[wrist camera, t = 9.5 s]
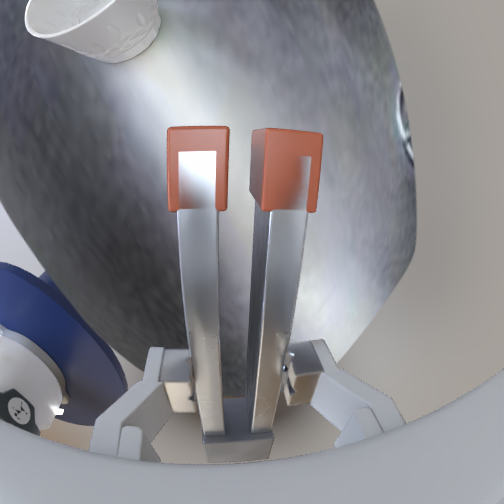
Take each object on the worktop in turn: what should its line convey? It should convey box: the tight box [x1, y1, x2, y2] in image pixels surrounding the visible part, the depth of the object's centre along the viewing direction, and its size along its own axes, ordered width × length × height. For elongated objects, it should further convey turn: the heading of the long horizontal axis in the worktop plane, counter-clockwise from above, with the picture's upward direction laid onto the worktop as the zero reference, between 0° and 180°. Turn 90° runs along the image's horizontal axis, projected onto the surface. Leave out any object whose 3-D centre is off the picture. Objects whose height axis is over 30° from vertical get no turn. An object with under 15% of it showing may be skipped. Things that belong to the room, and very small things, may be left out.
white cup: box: [25, 0, 161, 63], centre depth 10 cm, size 8×8×10 cm
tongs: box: [167, 126, 323, 463], centre depth 10 cm, size 16×4×3 cm, turn 178°
